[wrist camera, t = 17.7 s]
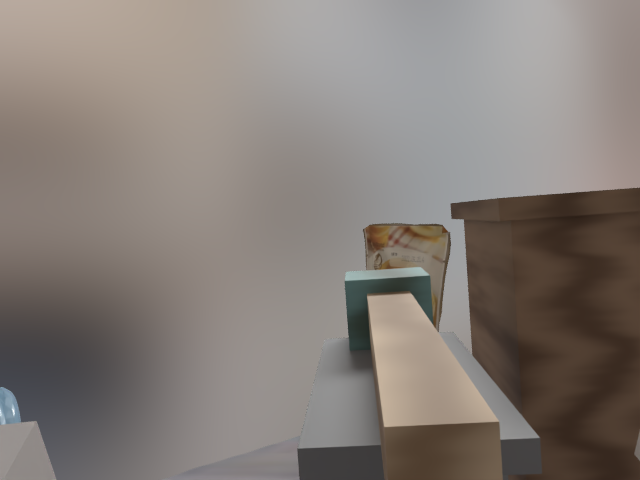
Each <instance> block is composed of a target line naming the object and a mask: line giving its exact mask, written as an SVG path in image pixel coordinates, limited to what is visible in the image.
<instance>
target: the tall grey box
mask: <svg viewBox="0 0 640 480" xmlns="http://www.w3.org/2000/svg"><path fill="white" fill-rule="evenodd" d="M439 334H440V336H441V337H442V339H443V340H444V342H445V343H446V345H447V346H448V348H449V349H450V350H451V352H452V353H453V355H454V356H455V358H456V359H457V361H458V362H459V364H460V365H461V367H462V368H463V369H464V371H465V372H466V374H467V375H468V377H469V378H470V380H471V381H472V383H473V384H474V385H475V387H476V388H477V390H478V391H479V393H480V394H481V396H482V397H483V399H484V400H485V401H486V403H487V404H488V406H489V407H490V409H491V410H492V412H493V413H494V415H495V416H496V418H497V419H498V420H499V425H500V441H501V457H502V474H503V480H508V475H524V474H542V463H541V446H540V437H539V436H538V435H537V434H536V432H535V431H534V430H533V429H532V427H531V426H530V425H529V424H528V423H527V421H526V420H525V419H524V418H523V416H522V415H521V414H520V413H519V412H518V410H517V409H516V408H515V407H514V405H513V404H512V403H511V402H510V401H509V399H508V398H507V397H506V396H505V395H504V393H503V392H502V391H501V390H500V388H499V387H498V386H497V385H496V384H495V382H494V381H493V380H492V379H491V377H490V376H489V375H488V374H487V373H486V371H485V370H484V369H483V368H482V366H481V365H480V364H479V363H478V362H477V360H476V359H475V358H474V357H473V355H472V354H471V353H470V352H469V351H468V349H467V348H466V347H465V346H464V344H463V343H462V342H461V341H460V340H459V338H458V337H457V336H456V335H455V333H454V332H440V333H439ZM297 450H298V463H299V476H300V480H385V479H384V470H383V460H382V451H381V441H380V432H379V422H378V413H377V403H376V394H375V384H374V375H373V365H372V356H371V350H354V351H350V347H349V338H337V339H325V341H324V345H323V349H322V353H321V357H320V361H319V365H318V369H317V373H316V377H315V381H314V385H313V389H312V393H311V397H310V401H309V404H308V409H307V412H306V416H305V421H304V424H303V428H302V432H301V436H300V440H299V444H298V448H297Z"/></svg>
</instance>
